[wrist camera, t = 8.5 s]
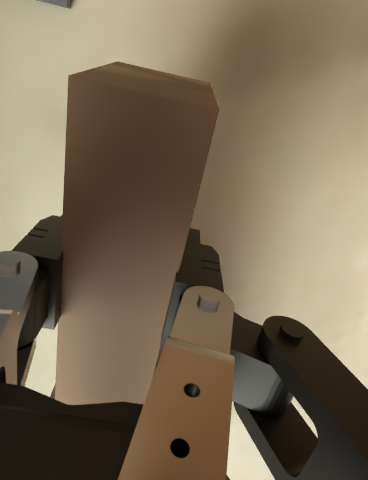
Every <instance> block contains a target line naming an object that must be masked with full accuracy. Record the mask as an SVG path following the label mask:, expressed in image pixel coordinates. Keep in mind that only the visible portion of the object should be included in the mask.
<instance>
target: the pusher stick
mask: <svg viewBox="0 0 368 480" xmlns="http://www.w3.org/2000/svg"><path fill="white" fill-rule="evenodd" d="M218 111H219V109H218V106H217V103H216V100H215V97H214V94H213V91H212V88H211V85H210V83H207V82H203V81H199V80H195V79H190V78H186V77H182V76H177V75H173V74H169V73H165V72H160V71H156V70H152V69H147V68H143V67H139V66H135V65H130V64H126V63H122V62H114V63H111V64H107V65H104V66H100V67H97V68H93V69H90V70H86V71H83V72H79V73H76V74H72V75H69V79H68V103H67V127H66V151H65V174H64V198H63V222H62V245H61V251H63V272H62V295H61V317H60V319H59V321H58V340H57V364H56V383H55V386H54V388H53V391H52V393H51V396H50V398H53V399H55V400H58V401H60V402H62V403H65V404H68V405H83V404H96V403H110V402H130V403H137V404H143V405H144V402H145V399H146V397H147V394H148V391H149V388H150V385H151V382H152V378H153V374H154V370H155V366H156V362H157V358H158V354H159V350H160V343H161V334H162V329H163V325H164V321H165V317H166V313H167V309H168V305H169V300H170V296H171V292H172V288H173V284H174V280H175V275H176V273H179V269H180V265H181V261H182V257H183V253H184V249H185V245H186V241H187V237H188V233H189V229H190V225H191V221H192V217H193V212H194V208H195V204H196V200H197V196H198V192H199V188H200V184H201V180H202V176H203V172H204V168H205V164H206V160H207V156H208V152H209V148H210V144H211V140H212V136H213V131H214V127H215V123H216V119H217V115H218Z"/></svg>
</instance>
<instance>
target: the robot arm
mask: <svg viewBox="0 0 368 480" xmlns="http://www.w3.org/2000/svg"><path fill="white" fill-rule="evenodd" d="M62 222H63V215H62V216H61V217H59V216H54V215H52V216H50V217H47V218H45V219H42V220H40V221H39V222H38V223H37V224H36V225H35V226H34V228H33V229H32V230H31V231H30V232H29V233H28V235H26V236H25V237H24V238H23V239H22V240H21V241H20V242H19V243H18V244H17V245H16V246H15V248H14V249H13V250H12V251H3V252H0V480H230V479H229V478H228V476H227V475H226V472H227V459H228V446H229V432H230V419H231V406H232V401H234V406H235V410H236V412H237V414H238V415H239V417H240V419H241V421H242V422H243V424H244V426H245V428H246V429H247V431H248V433H249V435H250V436H251V438H252V440H253V442H254V443H255V445H256V447H257V449H258V450H259V452H260V454H261V456H262V457H263V459H264V461H265V463H266V464H267V466H268V468H269V469H270V471H271V473H272V475H273V476H274V478H275V480H368V389H367V388H366V387H365V386H364V385H363V384H362V383H361V382H360V381H359V380H358V379H357V378H356V377H355V376H354V375H353V374H352V373H351V372H350V371H349V370H348V369H347V368H346V367H345V365H344V364H343V363H342V362H341V361H340V360H339V359H338V358H337V357H336V356H335V355H334V354H333V353H332V352H331V351H330V350H329V349H328V348H327V347H326V346H325V345H324V344H323V343H322V342H321V341H320V340H319V338H318V337H317V336H316V335H315V334H314V333H313V332H312V331H311V330H310V329H309V328H307V327H306V326H305V325H303V324H302V323H300V322H298V321H296V320H294V319H292V318H289V317H284V316H272V317H269V318H267V319H266V320H265V322H264V324H263V326H262V325H259V324H257V323H254V322H252V321H249V320H247V319H245V318H243V317H241V316H239V315H238V314H236V313H235V312H234V304H233V302H232V300H231V299H230V298H229V297H228V296H227V295H226V294H224V289H223V282H222V276H221V272H220V271H221V269H220V265H219V264H220V262H219V255H218V254H217V252H216V251H215V250H214V249H213V247H212V246H207V245H202V244H200V231H199V230H196V229H191V228H190V229H189V233H188V237H187V241H186V245H185V249H184V253H183V257H182V261H181V265H180V269H179V273H176V275H175V280H174V284H173V288H172V292H171V296H170V300H169V305H168V309H167V313H166V317H165V321H164V325H163V329H162V334H161V343H160V348H163V350H162V353H161V356H160V359H159V362H158V365H157V368H156V370H155V373H154V376H153V379H152V382H151V385H150V388H149V391H148V394H147V397H146V399H145V402H144V405H143V404H137V403H130V402H110V403H96V404H83V405H68V404H65V403H62V402H60V401H58V400H55V399H53V398H50V397H48V396H46V395H43V394H41V393H38V392H36V391H34V390H31V389H29V388H27V387H24V386H25V382H26V379H27V375H28V372H29V368H30V365H31V361H32V358H33V355H34V351H35V348H36V336H37V335H38V333H39V331H40V330H41V328H48V329H54V328H55V327H56V325H57V323H58V321H59V319H60V317H61V295H62V272H63V251H61V245H62ZM293 396H294V397H295V398H296V400H297V401H298V402H299V404H300V405H301V406H302V408H303V409H304V410H305V412H306V413H307V414H308V416H309V417H310V418H311V420H312V421H313V423H314V425H315V427H316V430H317V434H318V438H317V437H316V436H315V434H314V433H313V432H312V430H311V429H310V427H309V426H308V425H307V423H306V422H305V421H304V419H303V418H302V416H301V415H300V414H299V412H298V411H297V410H296V408H295V407H294V406H293V404H292V403H291V400H292V398H293Z"/></svg>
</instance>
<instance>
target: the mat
mask: <svg viewBox="0 0 368 480" xmlns="http://www.w3.org/2000/svg"><path fill="white" fill-rule="evenodd" d="M38 1H42V2H46V3H50V4H54V5H58V6H62V7H66V8H70V9H71V0H38Z"/></svg>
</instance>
